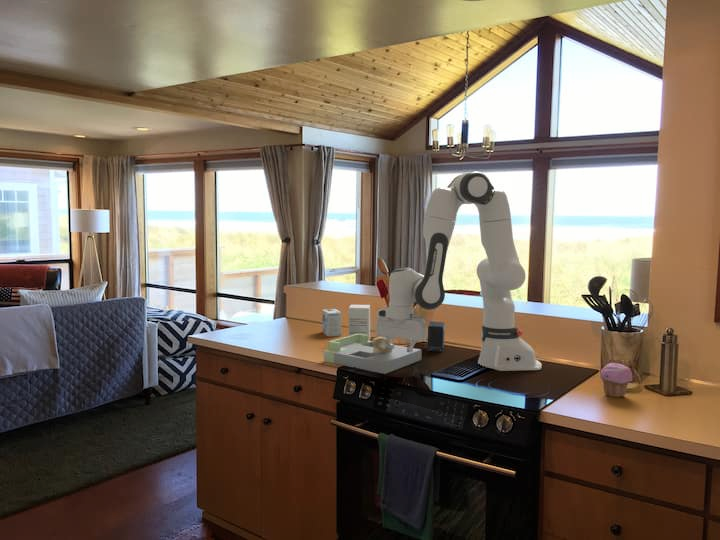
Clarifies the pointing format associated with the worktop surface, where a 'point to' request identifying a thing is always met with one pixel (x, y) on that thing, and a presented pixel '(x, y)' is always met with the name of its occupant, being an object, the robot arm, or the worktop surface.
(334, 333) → the light bulb box
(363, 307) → the supplement box
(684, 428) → the worktop surface
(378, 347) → the birch block
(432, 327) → the small box
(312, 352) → the worktop surface
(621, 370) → the cupcake
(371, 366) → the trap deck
